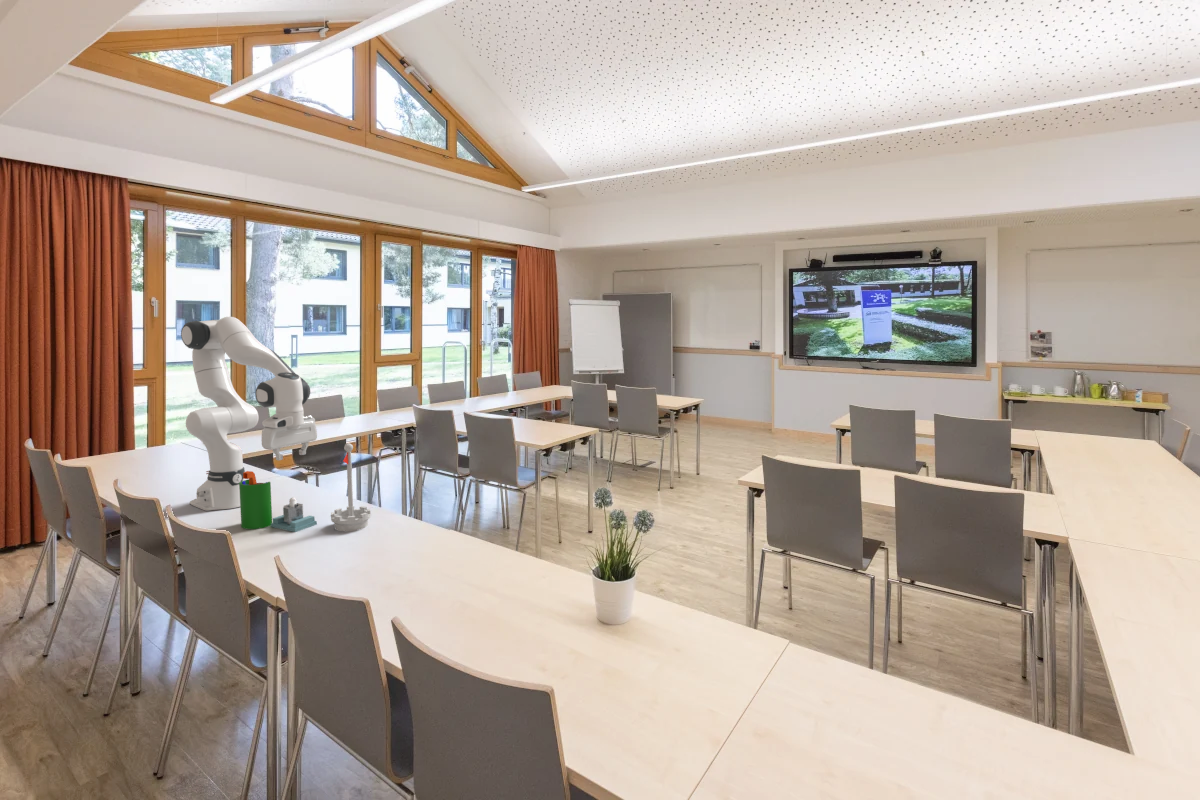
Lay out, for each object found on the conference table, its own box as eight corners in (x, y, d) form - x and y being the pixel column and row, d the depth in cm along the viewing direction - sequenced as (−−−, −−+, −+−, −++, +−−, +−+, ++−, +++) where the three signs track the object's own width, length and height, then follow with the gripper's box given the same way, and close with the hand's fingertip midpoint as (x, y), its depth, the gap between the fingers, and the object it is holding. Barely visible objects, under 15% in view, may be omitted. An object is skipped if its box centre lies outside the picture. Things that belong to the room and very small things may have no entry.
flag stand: (340, 519, 227) (337, 439, 223) (376, 520, 227) (373, 440, 223) (325, 532, 214) (321, 447, 210) (363, 532, 214) (360, 447, 210)
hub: (280, 520, 218) (279, 507, 217) (294, 515, 223) (294, 502, 222) (292, 523, 215) (291, 509, 215) (306, 518, 221) (306, 504, 220)
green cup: (277, 521, 223) (275, 467, 220) (262, 530, 214) (258, 474, 212) (251, 520, 224) (248, 466, 221) (234, 528, 215) (231, 472, 213)
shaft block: (271, 526, 218) (269, 498, 216) (292, 519, 226) (291, 492, 225) (295, 532, 213) (293, 503, 212) (316, 524, 221) (315, 496, 220)
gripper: (308, 414, 228) (309, 450, 230) (257, 422, 210) (259, 461, 212) (320, 415, 226) (321, 452, 228) (270, 424, 207) (272, 464, 209)
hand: (291, 457), depth 220 cm, fingers open, 8 cm apart
